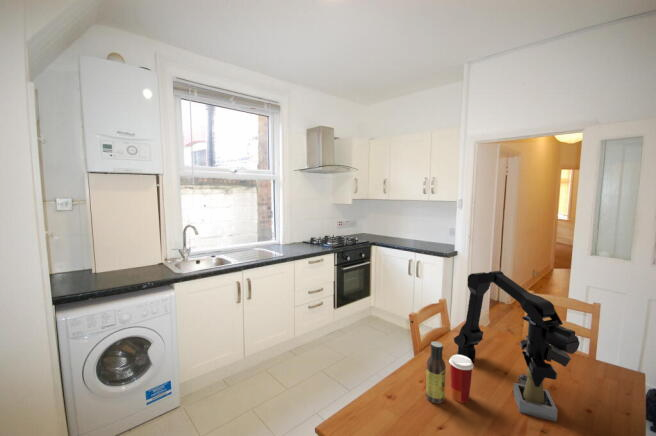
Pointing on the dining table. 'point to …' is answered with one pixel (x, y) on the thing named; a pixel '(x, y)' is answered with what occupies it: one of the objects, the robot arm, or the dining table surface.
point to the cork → (533, 390)
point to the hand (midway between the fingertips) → (534, 381)
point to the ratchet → (532, 408)
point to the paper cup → (460, 377)
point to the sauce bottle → (435, 374)
